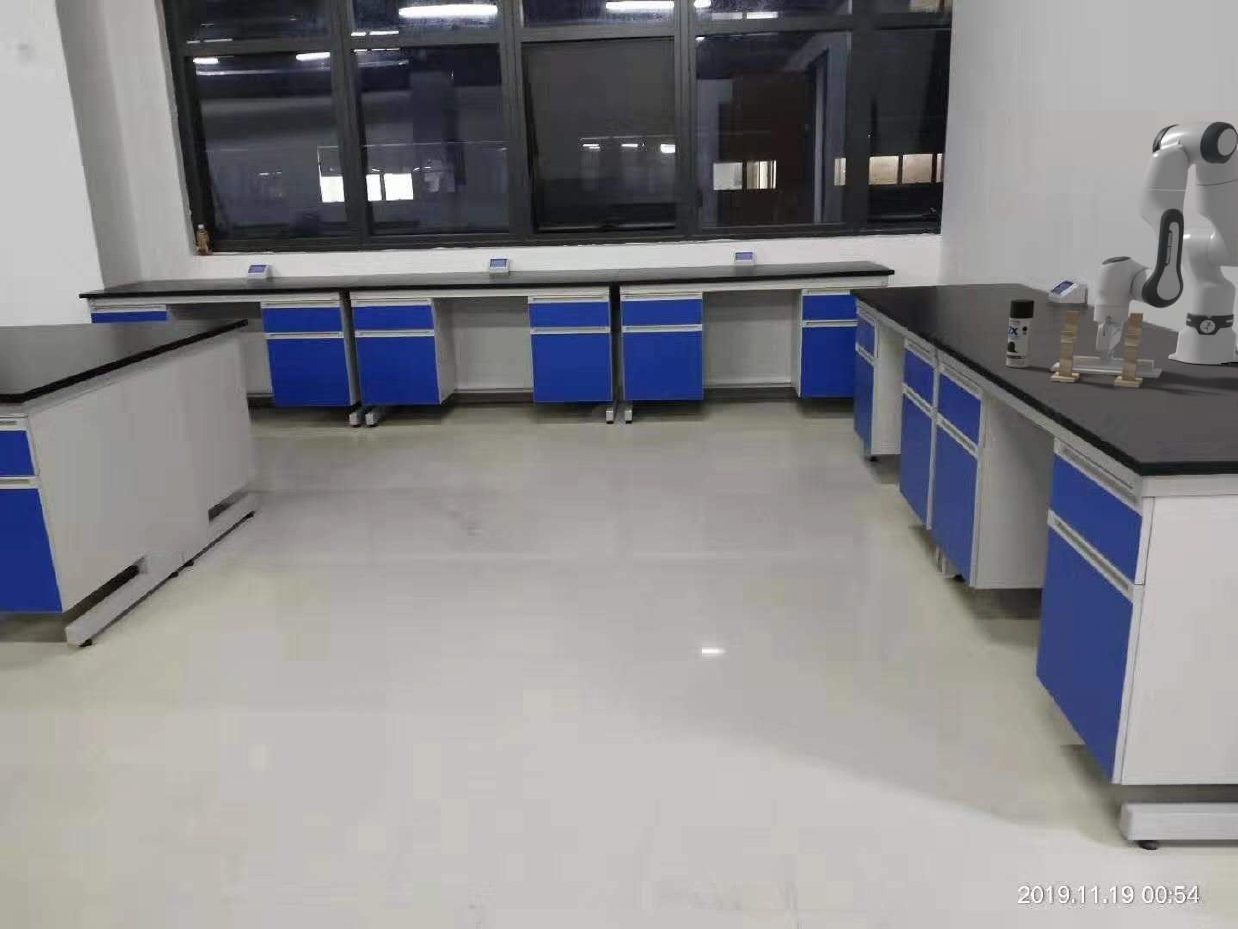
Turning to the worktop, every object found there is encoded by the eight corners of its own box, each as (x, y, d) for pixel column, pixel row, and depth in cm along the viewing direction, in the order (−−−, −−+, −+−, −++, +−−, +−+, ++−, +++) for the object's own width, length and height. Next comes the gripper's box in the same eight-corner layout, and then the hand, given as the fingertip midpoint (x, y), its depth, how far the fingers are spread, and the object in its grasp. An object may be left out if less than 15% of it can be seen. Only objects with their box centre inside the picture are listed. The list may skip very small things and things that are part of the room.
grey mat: (1057, 364, 288) (1057, 362, 288) (1161, 371, 273) (1162, 368, 273) (1050, 370, 281) (1050, 368, 280) (1157, 377, 265) (1158, 375, 265)
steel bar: (1062, 364, 284) (1063, 354, 283) (1152, 370, 271) (1154, 360, 270) (1060, 366, 282) (1061, 356, 281) (1151, 372, 269) (1152, 361, 268)
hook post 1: (1056, 376, 273) (1062, 309, 268) (1078, 377, 270) (1085, 310, 265) (1050, 381, 267) (1056, 313, 262) (1073, 382, 264) (1079, 314, 258)
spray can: (1000, 365, 291) (1005, 300, 285) (1018, 363, 293) (1023, 298, 288) (1016, 369, 285) (1021, 302, 279) (1034, 366, 287) (1039, 300, 282)
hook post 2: (1118, 380, 265) (1125, 312, 259) (1142, 381, 261) (1150, 312, 256) (1113, 385, 258) (1120, 316, 253) (1138, 387, 255) (1146, 316, 250)
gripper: (1117, 320, 262) (1112, 369, 266) (1128, 310, 278) (1123, 357, 282) (1092, 319, 266) (1087, 367, 270) (1104, 309, 282) (1100, 355, 286)
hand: (1106, 362), depth 276 cm, fingers open, 8 cm apart
